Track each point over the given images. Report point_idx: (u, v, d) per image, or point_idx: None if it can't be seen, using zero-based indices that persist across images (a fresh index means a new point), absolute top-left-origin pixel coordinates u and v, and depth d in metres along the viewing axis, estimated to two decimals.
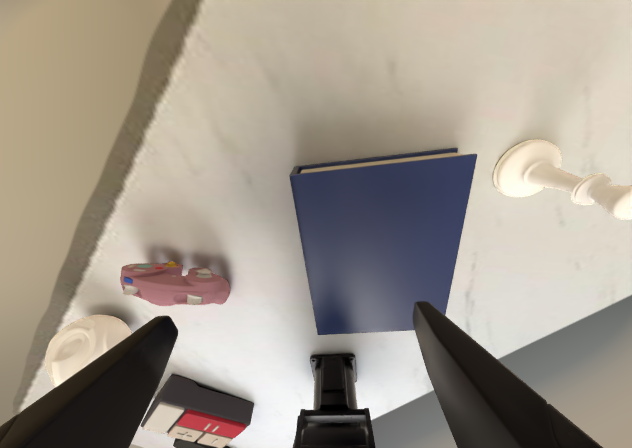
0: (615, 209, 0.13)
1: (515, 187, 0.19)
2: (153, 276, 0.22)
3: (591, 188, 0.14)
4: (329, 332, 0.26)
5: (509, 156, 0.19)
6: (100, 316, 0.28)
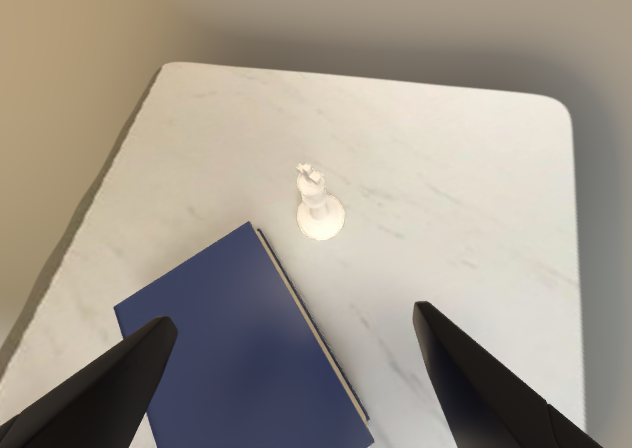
0: (301, 192, 0.15)
1: (316, 229, 0.22)
2: None
3: None
4: None
5: None
6: None
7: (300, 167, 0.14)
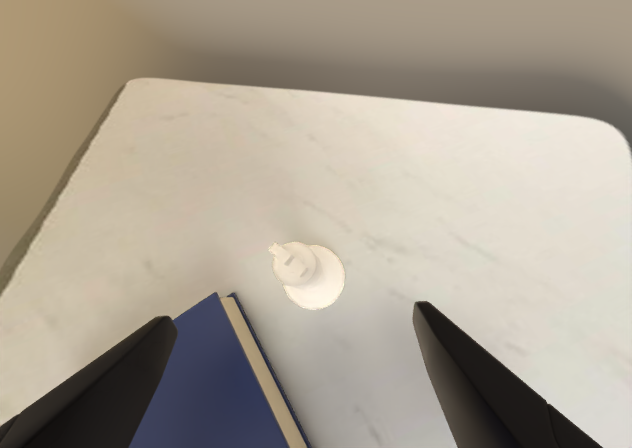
0: (279, 279, 0.10)
1: (308, 297, 0.16)
2: None
3: None
4: None
5: None
6: None
7: (274, 249, 0.09)
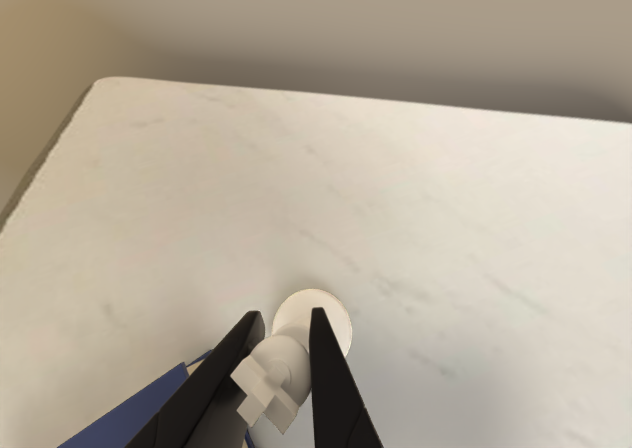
0: None
1: None
2: None
3: None
4: None
5: (272, 328, 0.14)
6: None
7: (242, 375, 0.05)
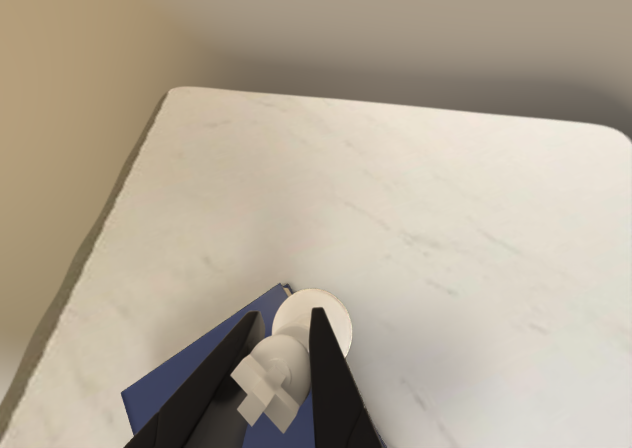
0: None
1: None
2: None
3: None
4: None
5: (272, 328, 0.14)
6: None
7: (242, 374, 0.05)
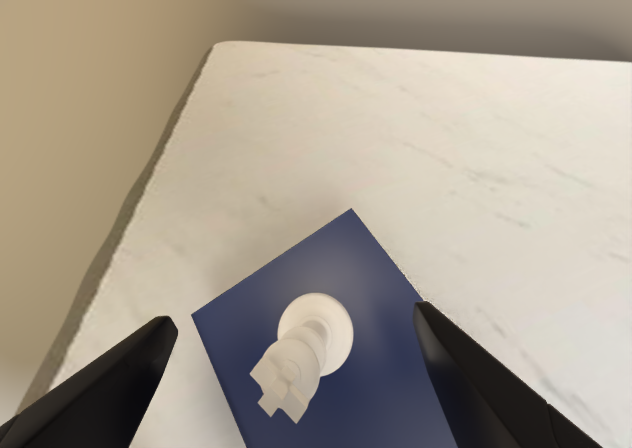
0: None
1: None
2: None
3: None
4: None
5: None
6: None
7: (259, 373, 0.06)
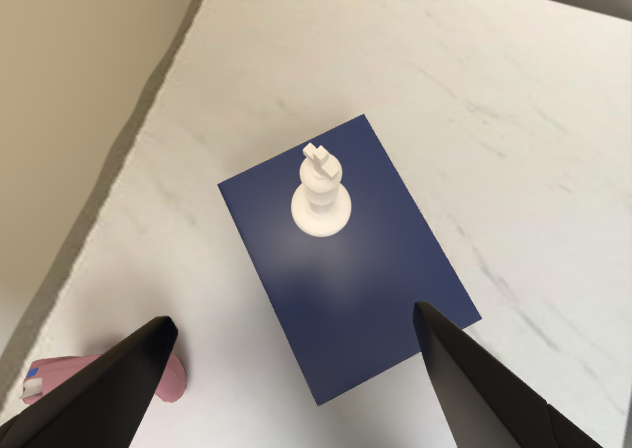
0: (306, 185, 0.10)
1: (315, 223, 0.17)
2: None
3: None
4: (332, 393, 0.17)
5: None
6: None
7: (309, 149, 0.09)
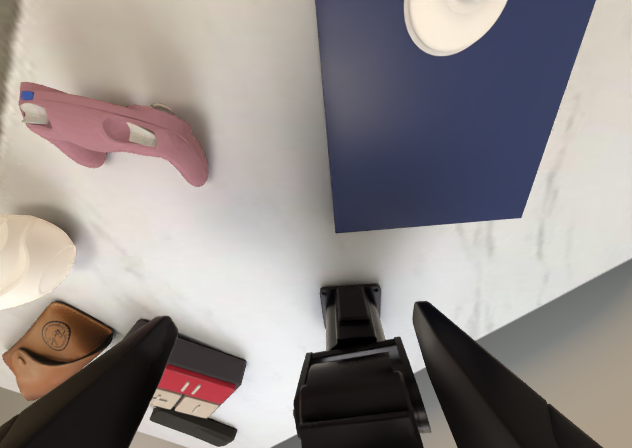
0: None
1: (437, 22, 0.11)
2: None
3: None
4: (352, 228, 0.18)
5: None
6: (25, 215, 0.20)
7: None
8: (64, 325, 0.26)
